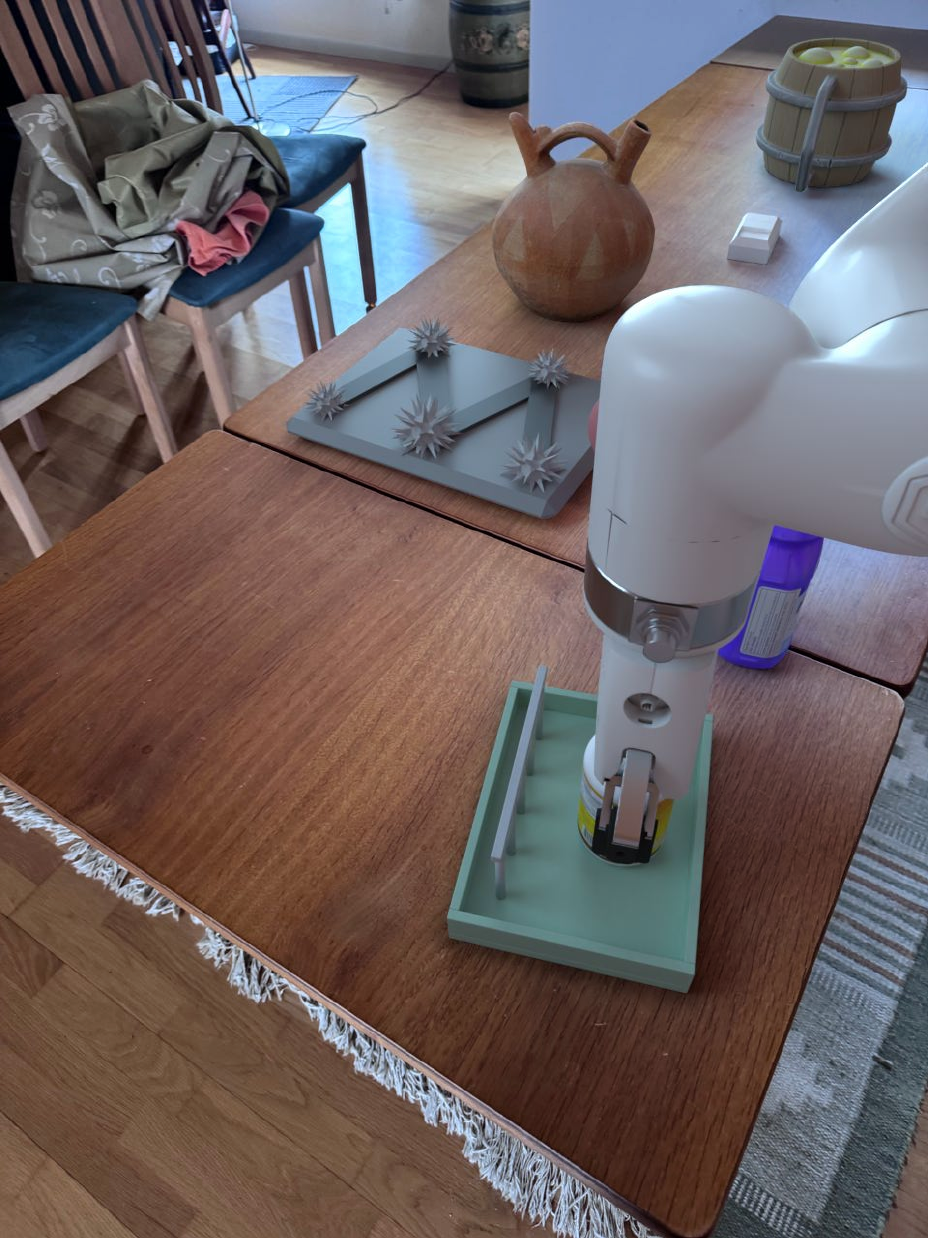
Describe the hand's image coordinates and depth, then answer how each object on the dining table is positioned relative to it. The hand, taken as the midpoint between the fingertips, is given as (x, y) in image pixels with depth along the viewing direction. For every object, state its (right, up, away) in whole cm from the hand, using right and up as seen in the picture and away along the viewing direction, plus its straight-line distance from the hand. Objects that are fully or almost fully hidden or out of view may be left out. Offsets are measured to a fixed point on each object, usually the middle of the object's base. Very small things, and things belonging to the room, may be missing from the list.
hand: (630, 782), depth 52 cm
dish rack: (-2, -4, +5) cm, 7 cm away
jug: (+3, +48, +53) cm, 72 cm away
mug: (+41, +75, +76) cm, 114 cm away
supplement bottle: (0, -4, +4) cm, 6 cm away
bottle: (+12, +8, +16) cm, 21 cm away
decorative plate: (-10, +29, +37) cm, 48 cm away
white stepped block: (+28, +58, +61) cm, 88 cm away
